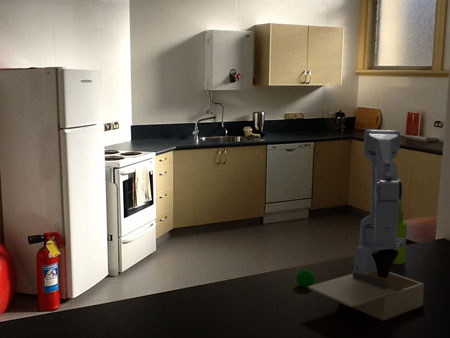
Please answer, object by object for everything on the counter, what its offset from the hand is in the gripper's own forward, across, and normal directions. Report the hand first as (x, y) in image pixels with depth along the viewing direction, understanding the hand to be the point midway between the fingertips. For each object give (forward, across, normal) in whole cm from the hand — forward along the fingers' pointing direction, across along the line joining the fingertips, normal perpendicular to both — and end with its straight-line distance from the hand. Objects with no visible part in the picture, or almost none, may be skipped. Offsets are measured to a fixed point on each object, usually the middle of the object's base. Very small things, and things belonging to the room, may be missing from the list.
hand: (382, 276), depth 139 cm
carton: (+7, 0, 0) cm, 7 cm away
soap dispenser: (+8, +33, +20) cm, 39 cm away
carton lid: (+1, -12, 0) cm, 12 cm away
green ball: (+8, -8, +20) cm, 23 cm away
